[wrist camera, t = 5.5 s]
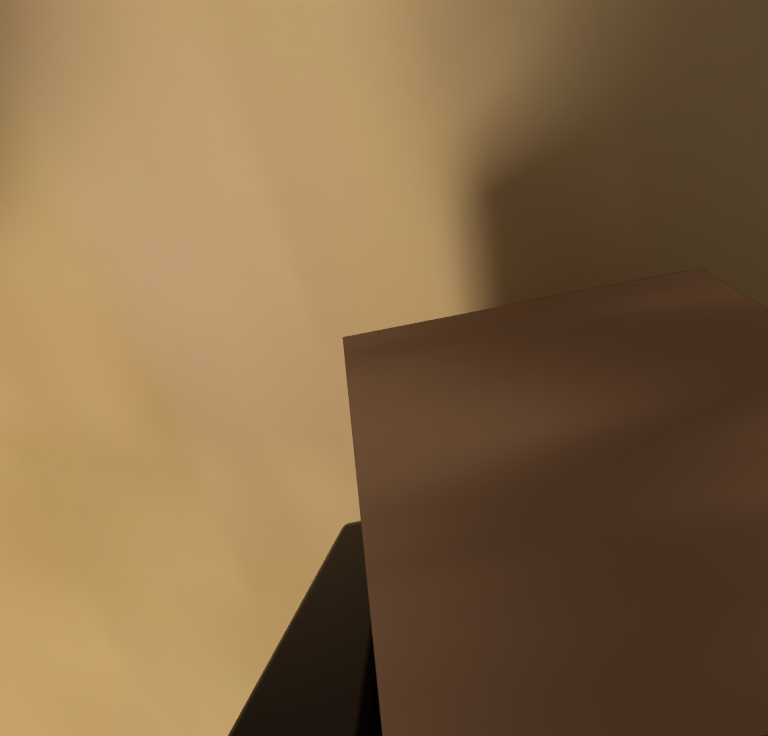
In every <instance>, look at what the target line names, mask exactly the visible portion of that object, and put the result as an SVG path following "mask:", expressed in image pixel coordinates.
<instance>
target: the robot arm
mask: <svg viewBox="0 0 768 736" xmlns="http://www.w3.org/2000/svg"><path fill="white" fill-rule="evenodd" d="M228 736H383V735H382V725H381V715H380V705H379V695H378V685H377V675H376V665H375V655H374V645H373V635H372V625H371V615H370V605H369V595H368V585H367V575H366V565H365V555H364V545H363V535H362V525H361V521H358V522H353V523H348V524H346V525H345V526H344V527H343V528H342V530H341V531H340V533H339V535H338V537H337V539H336V540H335V542H334V544H333V546H332V548H331V550H330V551H329V553H328V555H327V557H326V559H325V560H324V562H323V564H322V566H321V568H320V570H319V571H318V573H317V575H316V577H315V579H314V580H313V582H312V584H311V586H310V588H309V590H308V591H307V593H306V595H305V597H304V599H303V600H302V602H301V604H300V606H299V608H298V610H297V611H296V613H295V615H294V617H293V619H292V620H291V622H290V624H289V626H288V628H287V630H286V631H285V633H284V635H283V637H282V639H281V640H280V642H279V644H278V646H277V648H276V649H275V651H274V653H273V655H272V657H271V659H270V660H269V662H268V664H267V666H266V668H265V669H264V671H263V673H262V675H261V677H260V679H259V680H258V682H257V684H256V686H255V688H254V689H253V691H252V693H251V695H250V697H249V699H248V700H247V702H246V704H245V706H244V708H243V709H242V711H241V713H240V715H239V717H238V719H237V720H236V722H235V724H234V726H233V728H232V729H231V731H230V733H229V735H228Z"/></svg>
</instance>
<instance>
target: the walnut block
mask: <svg viewBox="0 0 768 736" xmlns="http://www.w3.org/2000/svg"><path fill="white" fill-rule="evenodd" d="M343 345H344V355H345V365H346V375H347V385H348V395H349V405H350V415H351V425H352V435H353V445H354V455H355V465H356V475H357V485H358V495H359V505H360V515H361V525H362V535H363V545H364V555H365V565H366V575H367V585H368V595H369V605H370V615H371V625H372V635H373V645H374V655H375V665H376V675H377V685H378V695H379V705H380V715H381V725H382V735H383V736H768V308H766V307H764V306H763V305H761V304H759V303H758V302H756V301H754V300H753V299H751V298H749V297H748V296H746V295H744V294H743V293H741V292H739V291H738V290H736V289H735V288H733V287H731V286H730V285H728V284H726V283H725V282H723V281H721V280H720V279H718V278H716V277H715V276H713V275H711V274H710V273H708V272H706V271H705V270H703V269H701V268H697V269H692V270H687V271H682V272H677V273H671V274H666V275H661V276H656V277H651V278H646V279H641V280H635V281H630V282H625V283H620V284H615V285H610V286H604V287H599V288H594V289H589V290H584V291H579V292H574V293H568V294H563V295H558V296H553V297H548V298H543V299H538V300H532V301H527V302H522V303H517V304H512V305H507V306H501V307H496V308H491V309H486V310H481V311H476V312H471V313H465V314H460V315H455V316H450V317H445V318H440V319H435V320H429V321H424V322H419V323H414V324H409V325H404V326H399V327H393V328H388V329H383V330H378V331H373V332H368V333H362V334H357V335H352V336H347V337H343Z"/></svg>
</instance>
